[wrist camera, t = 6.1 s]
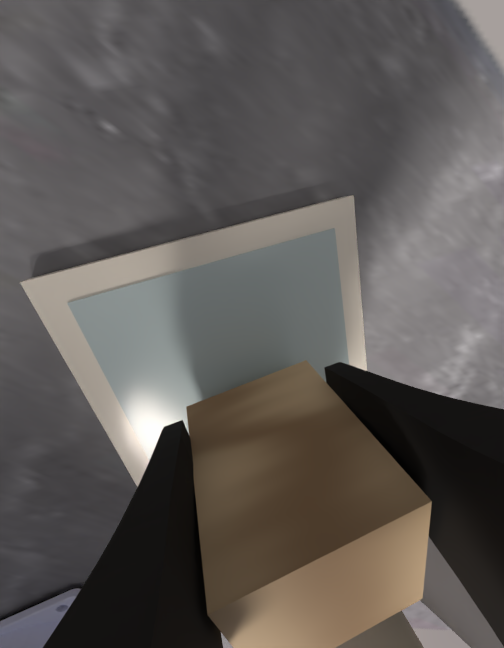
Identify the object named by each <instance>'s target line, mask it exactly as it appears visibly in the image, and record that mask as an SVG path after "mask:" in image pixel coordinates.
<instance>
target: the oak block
mask: <svg viewBox="0 0 504 648" xmlns="http://www.w3.org/2000/svg"><path fill="white" fill-rule="evenodd" d="M186 410H187V419H188V429H189V436H190V439H191V448H192V456H193V474H194V488H195V497H196V507H197V517H198V527H199V537H200V546H201V556H202V566H203V576H204V585H205V595H206V605H207V615H208V616H209V617H210V619H211V620H212V621H213V622H214V624H215V625H216V626H217V627H218V629H219V630H220V631H221V632H222V634H223V635H224V636H225V637H226V639H227V640H228V641H229V643H230V644H231V645H232V646H233V648H336V647H337V646H339V645H341V644H343V643H345V642H346V641H348V640H350V639H352V638H353V637H355V636H357V635H359V634H360V633H362V632H364V631H366V630H368V629H369V628H371V627H373V626H375V625H376V624H378V623H380V622H382V621H384V620H385V619H387V618H389V617H391V616H392V615H394V614H396V613H398V612H400V611H401V610H403V609H405V608H407V607H408V606H410V605H412V604H414V603H416V602H417V601H419V600H421V599H422V598H423V588H424V577H425V567H426V557H427V546H428V536H429V526H430V515H431V505H432V501H431V500H430V499H429V498H428V496H427V495H426V494H425V493H424V492H423V491H422V490H421V489H420V487H419V486H418V485H417V484H416V483H415V482H414V481H413V480H412V478H411V477H410V476H409V475H408V474H407V473H406V472H405V471H404V469H403V468H402V467H401V466H400V465H399V464H398V463H397V462H396V460H395V459H394V458H393V457H392V456H391V455H390V454H389V453H388V451H387V450H386V449H385V448H384V447H383V446H382V445H381V444H380V443H379V441H378V440H377V439H376V438H375V437H374V436H373V435H372V434H371V432H370V431H369V430H368V429H367V428H366V427H365V426H364V425H363V423H362V422H361V421H360V420H359V419H358V418H357V417H356V416H355V414H354V413H353V412H352V411H351V410H350V409H349V408H348V407H347V405H346V404H345V403H344V402H343V401H342V400H341V399H340V398H339V396H338V395H337V394H336V393H335V392H334V391H333V390H332V389H331V387H330V386H329V385H328V384H327V383H326V382H325V381H324V380H323V378H322V377H321V376H320V375H319V374H318V373H317V372H316V371H315V369H314V368H313V367H312V366H311V365H310V364H309V363H308V362H307V360H305V361H303V362H300V363H297V364H295V365H292V366H290V367H287V368H285V369H282V370H279V371H277V372H274V373H272V374H269V375H267V376H264V377H261V378H259V379H256V380H254V381H251V382H248V383H246V384H243V385H241V386H238V387H236V388H233V389H230V390H228V391H225V392H223V393H220V394H218V395H215V396H212V397H210V398H207V399H205V400H202V401H200V402H197V403H194V404H192V405H189V406H187V407H186Z"/></svg>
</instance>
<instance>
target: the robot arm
mask: <svg viewBox="0 0 504 648" xmlns="http://www.w3.org/2000/svg"><path fill="white" fill-rule="evenodd" d="M324 369H325V376H326V383H327V384H328V385H329V386H330V387H331V389H332V390H333V391H334V392H335V393H336V394H337V395H338V396H339V398H340V399H341V400H342V401H343V402H344V403H345V404H346V405H347V407H348V408H349V409H350V410H351V411H352V412H353V413H354V414H355V416H356V417H357V418H358V419H359V420H360V421H361V422H362V423H363V425H364V426H365V427H366V428H367V429H368V430H369V431H370V432H371V434H372V435H373V436H374V437H375V438H376V439H377V440H378V441H379V443H380V444H381V445H382V446H383V447H384V448H385V449H386V450H387V451H388V453H389V454H390V455H391V456H392V457H393V458H394V459H395V460H396V462H397V463H398V464H399V465H400V466H401V467H402V468H403V469H404V471H405V472H406V473H407V474H408V475H409V476H410V477H411V478H412V480H413V481H414V482H415V483H416V484H417V485H418V486H419V487H420V489H421V490H422V491H423V492H424V493H425V494H426V495H427V496H428V498H429V499H430V500H431V501H432V505H431V515H430V526H429V538H430V539H431V540H432V542H433V543H434V545H435V546H436V548H437V549H438V550H439V552H440V553H441V555H442V556H443V558H444V559H445V560H446V562H447V563H448V565H449V566H450V568H451V569H452V570H453V572H454V573H455V575H456V576H457V578H458V579H459V580H460V582H461V583H462V585H463V586H464V588H465V589H466V591H467V592H468V594H469V595H470V597H471V598H472V600H473V601H474V603H475V604H476V606H477V607H478V609H479V610H480V612H481V613H482V615H483V616H484V618H485V619H486V620H487V622H488V623H489V625H490V626H491V628H492V630H493V631H494V633H495V634H496V636H497V637H498V639H499V640H500V642H501V643H502V645H503V647H504V409H499V408H494V407H489V406H484V405H479V404H475V403H471V402H466V401H462V400H458V399H453V398H450V397H446V396H442V395H438V394H435V393H432V392H428V391H425V390H421V389H418V388H415V387H411V386H408V385H405V384H402V383H399V382H396V381H393V380H390V379H387V378H385V377H382V376H379V375H376V374H373V373H371V372H368V371H365V370H362V369H360V368H357V367H354V366H351V365H348V364H345V363H342V362H338V363H335V364H332V365H330V366H327V367H324ZM0 648H223V645H222V638H221V632H220V630H219V629H218V627H217V626H216V625H215V624H214V622H213V621H212V620H211V619H210V617H209V616H208V615H207V605H206V595H205V585H204V576H203V566H202V556H201V546H200V537H199V527H198V517H197V507H196V497H195V488H194V474H193V456H192V448H191V439H190V436H189V434H188V432H187V429H186V427H185V425H184V422H183V420H181V421H178V422H176V423H173V424H170V425H167V426H165V427H164V428H163V429H162V431H161V434H160V436H159V439H158V441H157V444H156V446H155V449H154V451H153V454H152V456H151V458H150V461H149V463H148V465H147V468H146V470H145V472H144V474H143V476H142V479H141V481H140V483H139V485H138V488H137V490H136V492H135V494H134V496H133V498H132V500H131V502H130V504H129V506H128V508H127V510H126V512H125V514H124V516H123V518H122V520H121V522H120V524H119V525H118V527H117V529H116V531H115V533H114V535H113V536H112V538H111V540H110V542H109V544H108V545H107V547H106V549H105V551H104V552H103V554H102V556H101V558H100V559H99V561H98V563H97V564H96V566H95V568H94V569H93V571H92V573H91V574H90V576H89V578H88V579H87V581H86V582H85V584H84V586H83V587H82V589H80V588H76V589H72V590H69V591H67V592H65V593H62V594H60V595H58V596H56V597H53V598H51V599H49V600H47V601H44V602H42V603H40V604H38V605H35V606H33V607H31V608H29V609H26V610H24V611H22V612H20V613H17V614H15V615H13V616H11V617H8V618H6V619H4V620H1V621H0Z"/></svg>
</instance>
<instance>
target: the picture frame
mask: <svg viewBox="0 0 504 648" xmlns="http://www.w3.org/2000/svg"><path fill="white" fill-rule="evenodd" d="M20 284H21V285H22V287H23V289H24V291H25V292H26V294H27V296H28V298H29V299H30V301H31V303H32V304H33V306H34V308H35V310H36V311H37V313H38V315H39V317H40V318H41V320H42V322H43V324H44V325H45V327H46V329H47V331H48V332H49V334H50V336H51V338H52V339H53V341H54V343H55V345H56V346H57V348H58V350H59V351H60V353H61V355H62V357H63V358H64V360H65V362H66V364H67V365H68V367H69V369H70V371H71V372H72V374H73V376H74V378H75V379H76V381H77V383H78V385H79V386H80V388H81V390H82V391H83V393H84V395H85V397H86V398H87V400H88V402H89V404H90V405H91V407H92V409H93V411H94V412H95V414H96V416H97V418H98V419H99V421H100V423H101V425H102V426H103V428H104V430H105V432H106V433H107V435H108V437H109V438H110V440H111V442H112V444H113V445H114V447H115V449H116V451H117V452H118V454H119V456H120V458H121V459H122V461H123V463H124V465H125V466H126V468H127V470H128V472H129V473H130V475H131V477H132V478H133V480H134V482H135V484H136V485H137V487H138V485H139V483H140V481H141V479H142V476H143V474H144V472H145V470H146V468H147V465H148V463H149V461H150V458H151V456H152V454H153V451H154V449H155V446H156V444H157V441H158V439H159V436H160V434H161V431H162V429H163V428H164V427H165V426H167V425H170V424H173V423H176V422H178V421H181V420H183V422H184V425H185V427H186V429H187V432H188V434H189V429H188V419H187V410H186V407H187V406H189V405H192V404H194V403H197V402H200V401H202V400H205V399H207V398H210V397H212V396H215V395H218V394H220V393H223V392H225V391H228V390H230V389H233V388H236V387H238V386H241V385H243V384H246V383H248V382H251V381H254V380H256V379H259V378H261V377H264V376H267V375H269V374H272V373H274V372H277V371H279V370H282V369H285V368H287V367H290V366H292V365H295V364H297V363H300V362H303V361H305V360H307V362H308V363H309V364H310V365H311V366H312V367H313V368H314V369H315V371H316V372H317V373H318V374H319V375H320V376H321V377H322V378H323V380H324V381H325V382H326V376H325V369H324V367H327V366H330V365H332V364H335V363H338V362H342V363H345V364H348V365H351V366H354V367H357V368H360V369H362V370H365V371H367V365H366V352H365V338H364V325H363V312H362V299H361V285H360V272H359V259H358V246H357V232H356V219H355V206H354V195H351V196H345V197H340V198H336V199H332V200H328V201H324V202H321V203H317V204H313V205H309V206H305V207H301V208H298V209H294V210H290V211H286V212H282V213H278V214H275V215H271V216H267V217H263V218H259V219H255V220H251V221H248V222H244V223H240V224H236V225H232V226H228V227H225V228H221V229H217V230H213V231H209V232H205V233H202V234H198V235H194V236H190V237H186V238H182V239H179V240H175V241H171V242H167V243H163V244H159V245H155V246H152V247H148V248H144V249H140V250H136V251H132V252H129V253H125V254H121V255H117V256H113V257H109V258H106V259H102V260H98V261H94V262H90V263H86V264H82V265H79V266H75V267H71V268H67V269H63V270H59V271H56V272H52V273H48V274H44V275H40V276H36V277H33V278H30V279H27V280H24V281H22V282H20Z"/></svg>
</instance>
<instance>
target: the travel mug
mask: <svg viewBox="0 0 504 648" xmlns="http://www.w3.org/2000/svg"><path fill="white" fill-rule="evenodd" d="M336 648H423V646H422V644H421V642H420V641H419V639H418V638H417V636H416V634H415V632H414V631H413V629H412V627H411V625H410V624H409V622H408V620H407V619H406V617H405V615H404V614H403V612H402V610H401V611H400V612H398V613H396V614H394V615H392V616H391V617H389V618H387V619H385V620H384V621H382V622H380V623H378V624H376V625H375V626H373V627H371V628H369V629H368V630H366V631H364V632H362V633H360V634H359V635H357V636H355V637H353V638H352V639H350V640H348V641H346V642H345V643H343V644H341V645H339V646H337V647H336Z"/></svg>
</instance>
